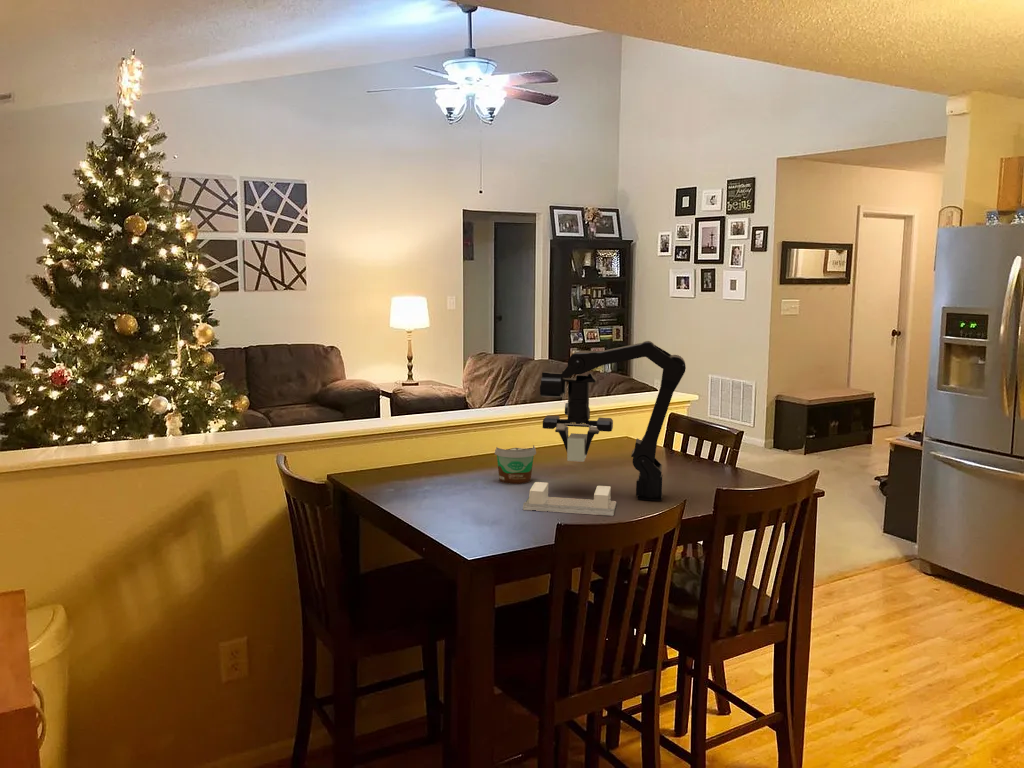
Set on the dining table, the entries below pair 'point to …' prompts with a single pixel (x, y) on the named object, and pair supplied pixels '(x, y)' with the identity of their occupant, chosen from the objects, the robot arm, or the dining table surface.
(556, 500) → the rail plate
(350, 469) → the dining table surface
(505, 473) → the food container
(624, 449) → the dining table surface
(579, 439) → the block
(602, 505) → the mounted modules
